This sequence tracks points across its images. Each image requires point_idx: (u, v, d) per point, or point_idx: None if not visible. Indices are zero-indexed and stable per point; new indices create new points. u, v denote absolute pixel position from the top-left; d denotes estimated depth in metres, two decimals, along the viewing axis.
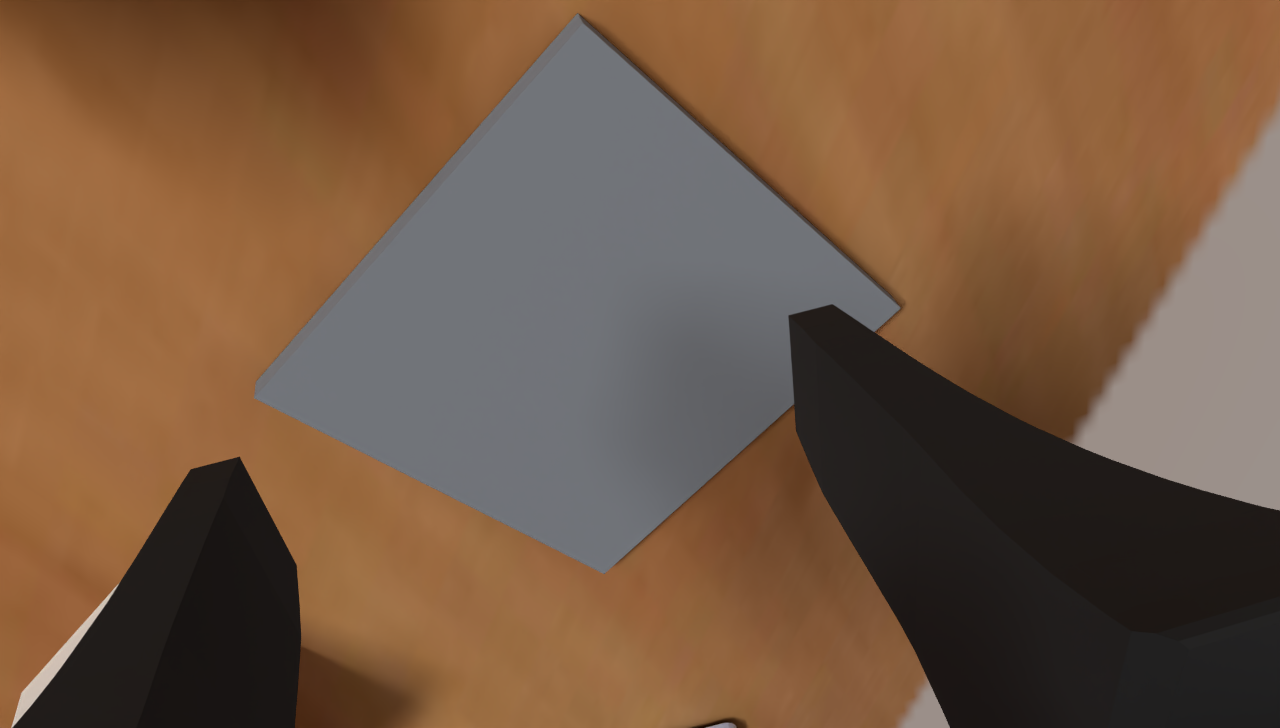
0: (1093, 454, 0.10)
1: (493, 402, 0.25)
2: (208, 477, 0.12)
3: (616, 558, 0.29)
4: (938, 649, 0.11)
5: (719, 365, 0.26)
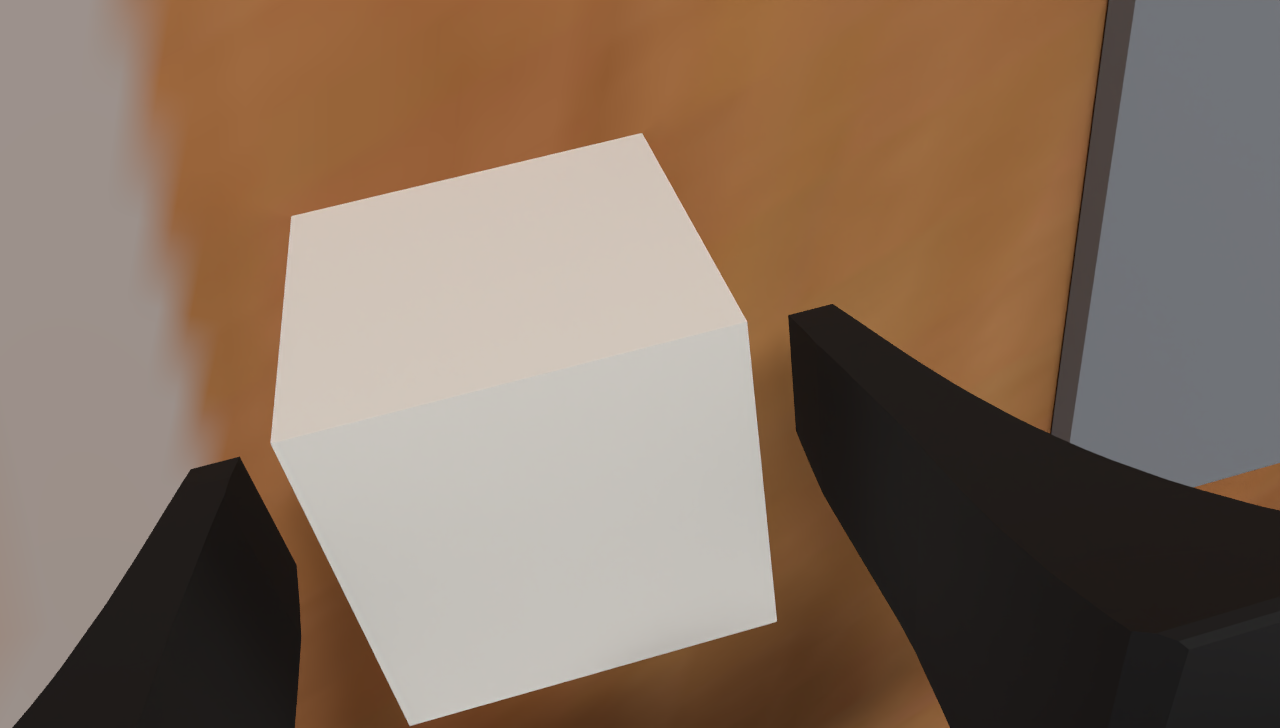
0: (1093, 454, 0.10)
1: (1258, 214, 0.17)
2: (209, 477, 0.12)
3: None
4: (938, 649, 0.11)
5: None
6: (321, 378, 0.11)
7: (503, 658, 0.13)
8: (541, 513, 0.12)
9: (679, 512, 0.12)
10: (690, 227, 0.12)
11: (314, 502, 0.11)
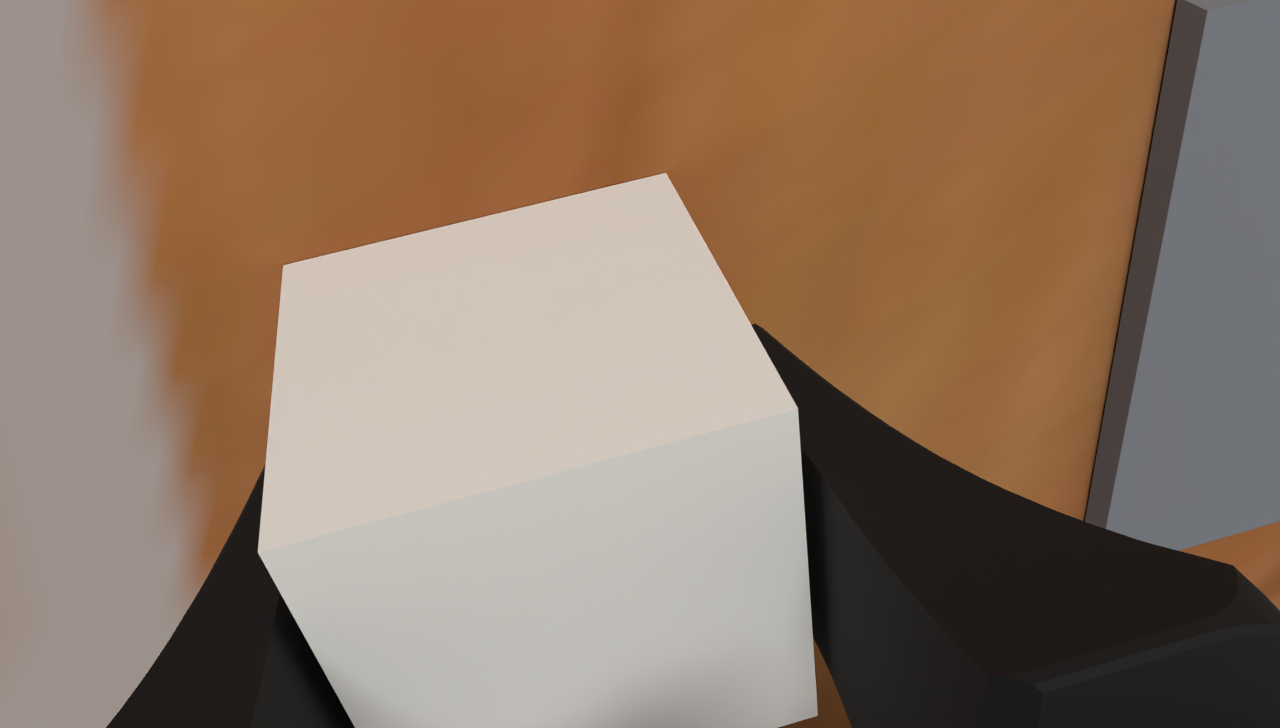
0: (988, 483, 0.09)
1: None
2: None
3: None
4: (848, 675, 0.11)
5: None
6: (314, 471, 0.10)
7: None
8: (563, 615, 0.11)
9: (715, 609, 0.11)
10: (727, 290, 0.11)
11: (307, 612, 0.10)
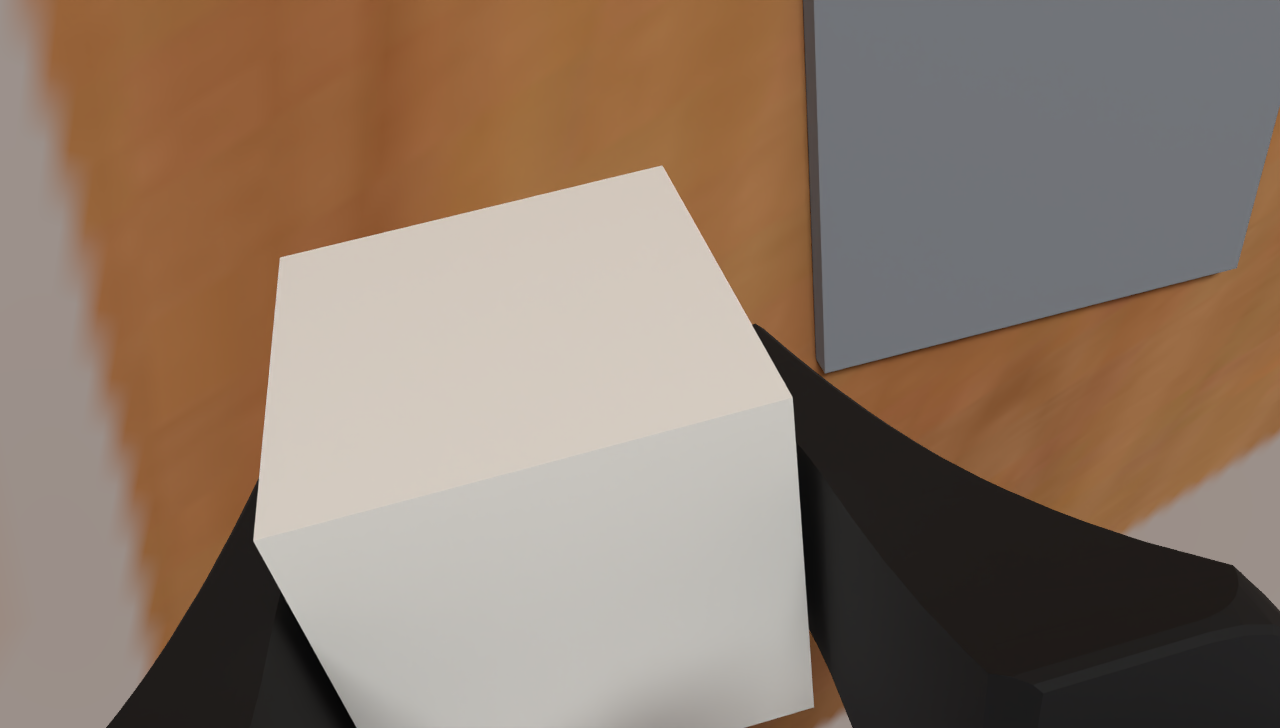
0: (988, 483, 0.09)
1: (951, 96, 0.22)
2: None
3: (849, 363, 0.25)
4: (849, 675, 0.11)
5: (1106, 213, 0.24)
6: (310, 460, 0.10)
7: None
8: (558, 605, 0.11)
9: (711, 599, 0.11)
10: (722, 281, 0.11)
11: (303, 601, 0.10)
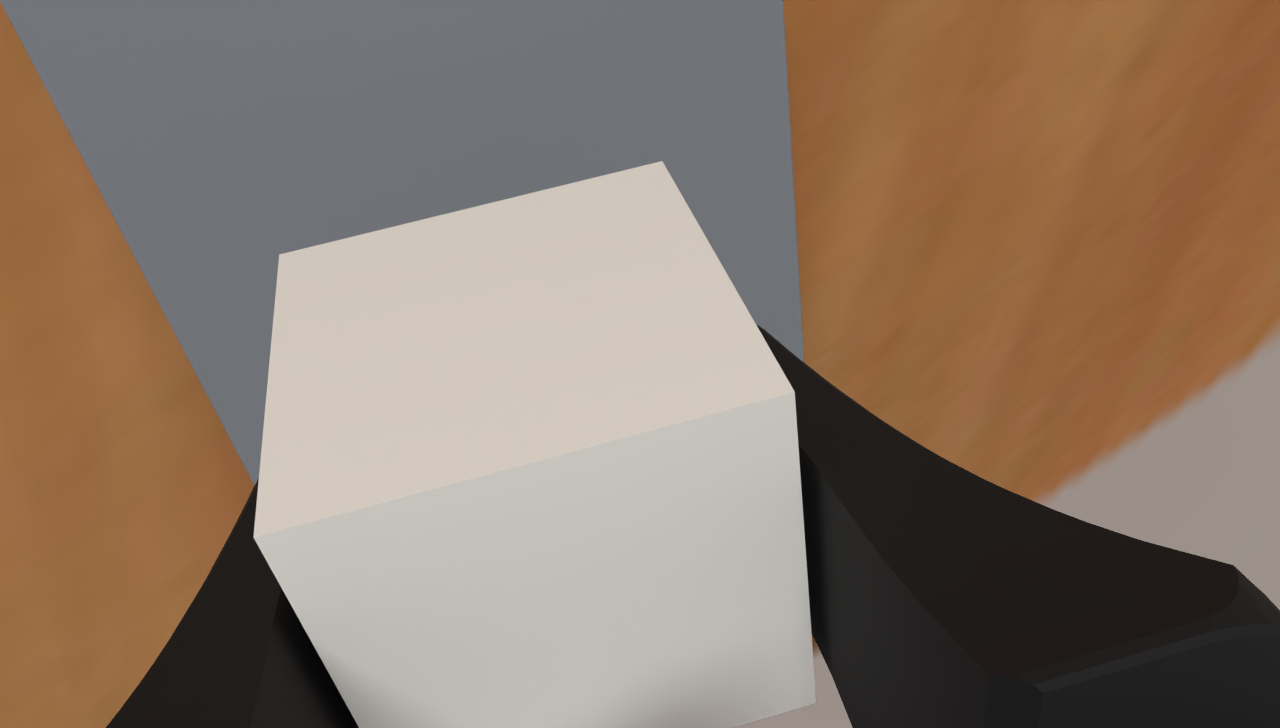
0: (988, 483, 0.09)
1: (321, 226, 0.17)
2: None
3: None
4: (848, 675, 0.11)
5: None
6: (310, 456, 0.10)
7: None
8: (559, 602, 0.10)
9: (713, 596, 0.11)
10: (723, 276, 0.11)
11: (304, 598, 0.10)
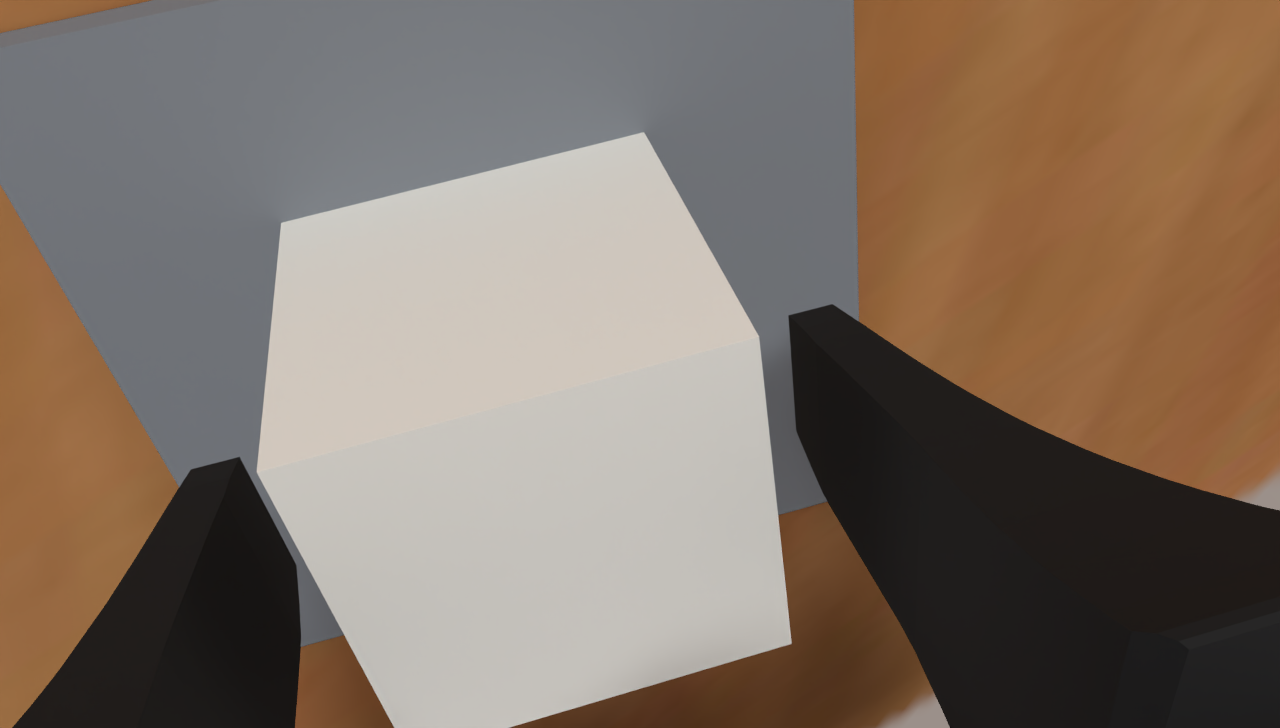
0: (1093, 454, 0.10)
1: None
2: (208, 477, 0.12)
3: (310, 639, 0.18)
4: (938, 649, 0.11)
5: None
6: (309, 401, 0.11)
7: (506, 686, 0.13)
8: (543, 537, 0.11)
9: (689, 535, 0.12)
10: (697, 235, 0.12)
11: (304, 531, 0.10)
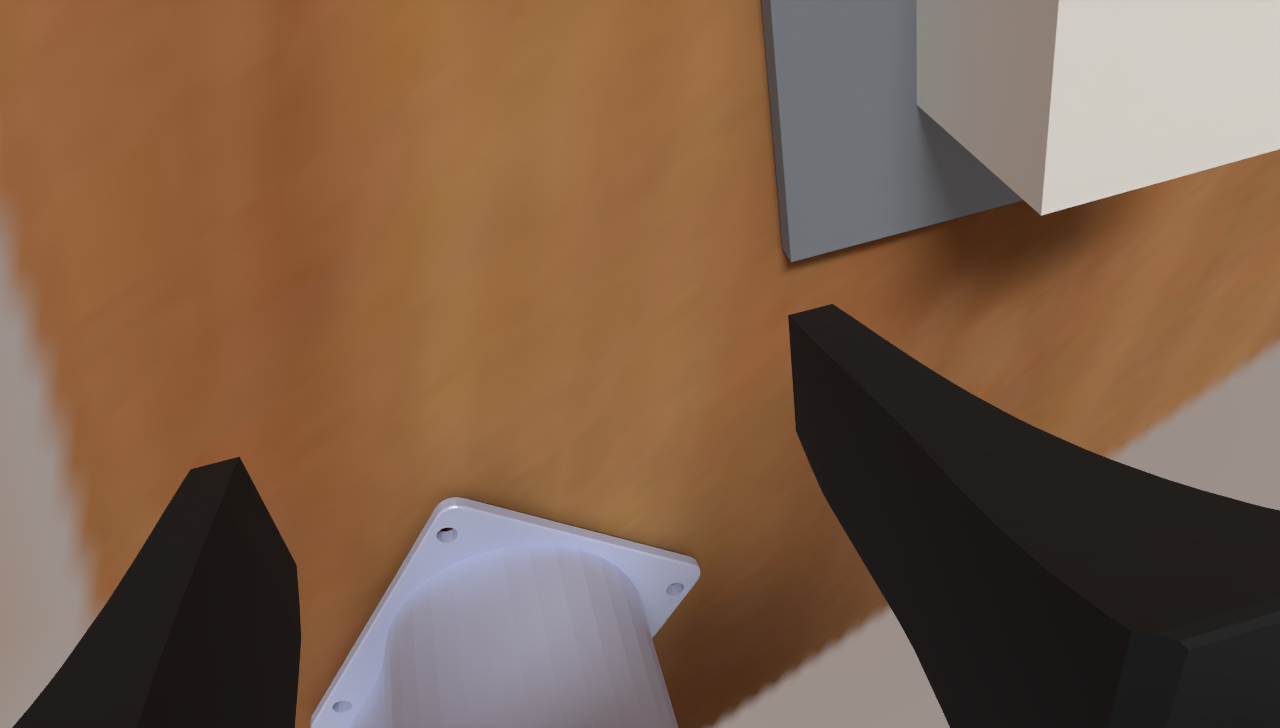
0: (1093, 454, 0.10)
1: None
2: (209, 477, 0.12)
3: (817, 250, 0.24)
4: (938, 649, 0.11)
5: None
6: None
7: (1122, 153, 0.18)
8: (1196, 8, 0.16)
9: (1279, 20, 0.17)
10: None
11: None
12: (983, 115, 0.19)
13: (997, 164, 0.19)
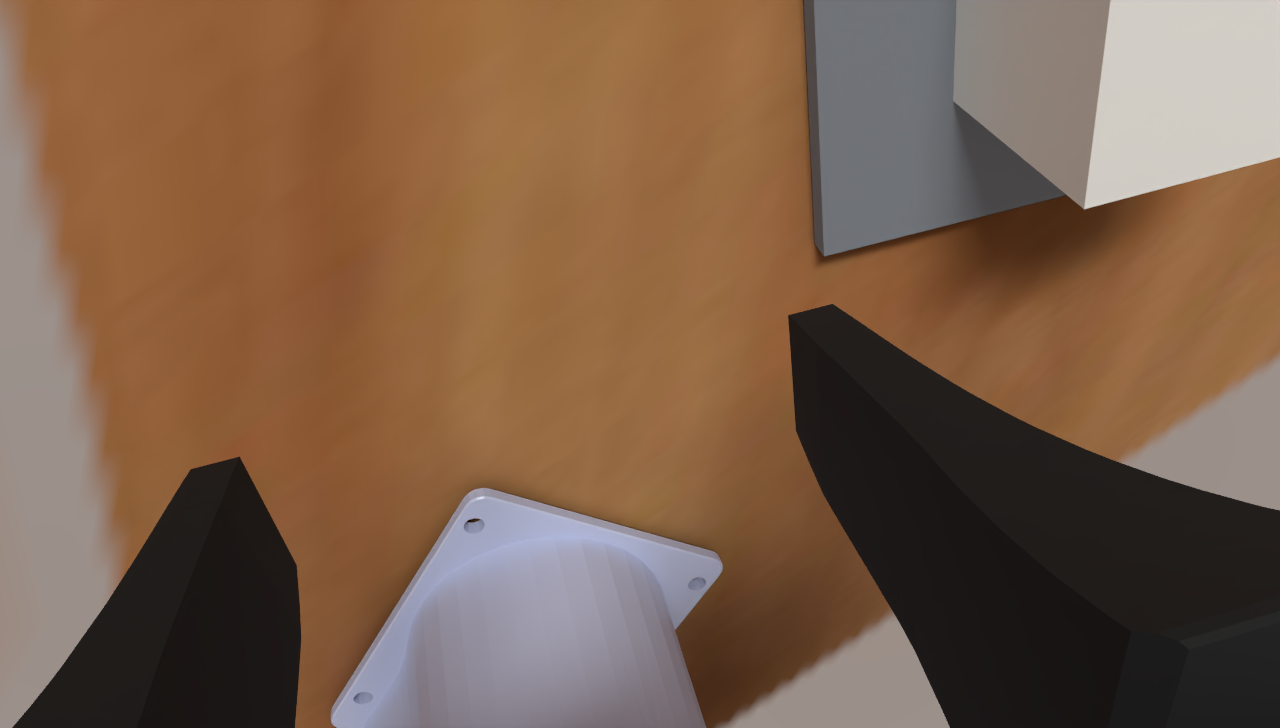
0: (1093, 454, 0.10)
1: None
2: (208, 477, 0.12)
3: (850, 245, 0.24)
4: (938, 649, 0.11)
5: None
6: None
7: (1165, 148, 0.18)
8: (1243, 4, 0.17)
9: None
10: None
11: None
12: (1025, 110, 0.19)
13: (1039, 159, 0.19)
